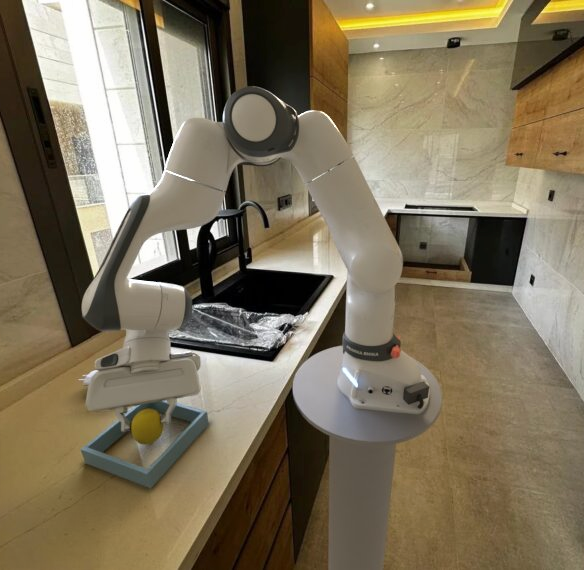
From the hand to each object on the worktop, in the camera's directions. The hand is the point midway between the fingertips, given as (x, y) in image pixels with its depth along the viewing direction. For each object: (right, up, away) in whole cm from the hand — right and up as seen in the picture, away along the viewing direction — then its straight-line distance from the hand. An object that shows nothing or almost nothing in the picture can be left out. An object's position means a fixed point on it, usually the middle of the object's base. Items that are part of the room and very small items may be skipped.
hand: (146, 427), depth 63 cm
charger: (-18, +3, +19) cm, 26 cm away
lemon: (0, -4, +2) cm, 5 cm away
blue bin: (0, -4, +2) cm, 4 cm away
